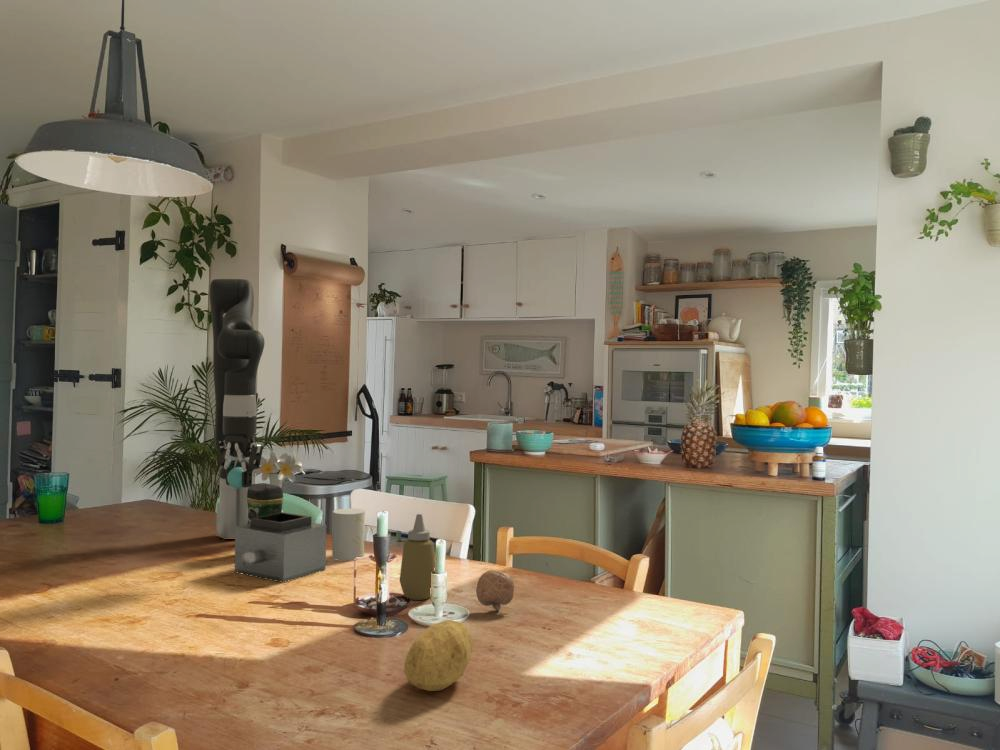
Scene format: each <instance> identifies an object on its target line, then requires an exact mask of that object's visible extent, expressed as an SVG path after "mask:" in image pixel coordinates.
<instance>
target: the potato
mask: <svg viewBox="0 0 1000 750" xmlns="http://www.w3.org/2000/svg"><path fill="white" fill-rule="evenodd" d="M472 654H473V638H472V635H471V631H470V630H469V628H468V627H467V626H466V625H465V624H463V623H462V622H460V621H457V620H452V619H445V620H441V621H439V622H438V623H435V624H432V625H430V626H429V627H427V628H426V629H424V631H422V633H420V634H419V635H418V637H417V638H416V639H415V640H414V642H413V643H412V645H411V646H410V648H409V649H408V652H407V654H406V657H405V660H404V667H403V668H404V669H403V673H404V675H405V677H406V680H407V682H408V683H409V684H411V685H412V686H414V687H416V688H417V689H420V690H425V691H429V692H438V691H443V690H445V689H446V688H448V687H450V686H451V685H452V684H454V683H456V682H457V681H458V680H460V679H461V677H462V676H464V673H465V670H466V668H467V666H468V664H469V661H470V660H471V657H472Z"/></svg>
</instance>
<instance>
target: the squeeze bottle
mask: <svg viewBox="0 0 1000 750" xmlns="http://www.w3.org/2000/svg"><path fill="white" fill-rule="evenodd" d="M407 532H408V533H407V535H408V537H407V538H408V539H407V540H406V541H404V542H403V546H402V547H403V549H402V557H401V565H400V573H399V584H400V586H401V591H402V594H403V596H405V597H407V598H406V599H408V598H409V599H408V600H414V601H421V600H427V599H430V598H431V597H430V588H431V572H433V571H434V568H435V565H436V554H435V544H434V542H433V540H431V539H430V536H431V535H430V534H431V533H430V530H428V529H425V523H424V517H423V514H422V513H417V514H416V515H415V521H414V524H413V529H409V530H408V531H407ZM405 597H404V598H405Z"/></svg>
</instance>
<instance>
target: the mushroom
mask: <svg viewBox="0 0 1000 750" xmlns="http://www.w3.org/2000/svg"><path fill="white" fill-rule="evenodd" d="M475 589H476V590H475V591H476V598H477V600H478V601H479V603H480V604H481V605H483V606H486V607H490V606H492V608H493V609H494V610H495V611H496V612H498V611H501V605H502V606H506V605H508V604H510V603H511V602H512V600H513V598H514V591H515V583H514V580H513V578H512V577H511V575H510V574H508V573H507V572H503V571H500V570H497V569H496V570H493V569H489V570H486V571H485V572H483V573H482V574H481V575H480V577H479V578H478V581H477V584H476V588H475Z"/></svg>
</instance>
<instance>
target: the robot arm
mask: <svg viewBox="0 0 1000 750" xmlns="http://www.w3.org/2000/svg"><path fill="white" fill-rule="evenodd" d="M254 300H255V298H254V289H253V285H252V283H251V281H250V280H247V279H243V278H242V279H241V278H216V279H212V281H211V282H210V286H209V305H210V315H211V316H210V317H211V325H212V339H213V341H212V342H213V349H212V350H213V353H212V354H213V355H212V356H213V357H212V358H213V360H212V361H213V362H212V363H213V364H212V365H213V366H212V367H213V383H214V400H215V409H214V410H215V415H214V416H215V417H214V420H215V421H214V447H215V450H216V451H217V457H218V464H219V466H220V467H221V466H222V467H221V468H220V470H219V496H218V497H219V501H218V503H217V504H216V534H217V535H219V536H220V537H223V538H235V527H237V526H241V525H246V524H247V523H248V504H247V491H248V488H249V487H251V485H252V484H254V478H253V479H252V471H253V470H254V469H258V468H259V467H261V465H260V461H261V456H262V455H263V450H264V445H263V444H262V443H261V444H259V443H256V433H257V404H258V403H257V397H256V395H257V394H256V392H257V391H256V390H257V387H256V385H257V374H258V373H257V372H258V369H259V366H260V361H261V358H262V355H263V353H264V348H265V338H264V336H263V334H262V332H261V331H258V330H256V329H254V323H253V314H254V307H255V306H254V305H255V304H254V303H255V302H254ZM262 457H263V456H262ZM236 467H242V469H243V471H244V472H242V488H234V487H232V486H230V484H229V483H228V480H227V476H228V473H229V472H230V471H231V470H232V469H233V468H236Z"/></svg>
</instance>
